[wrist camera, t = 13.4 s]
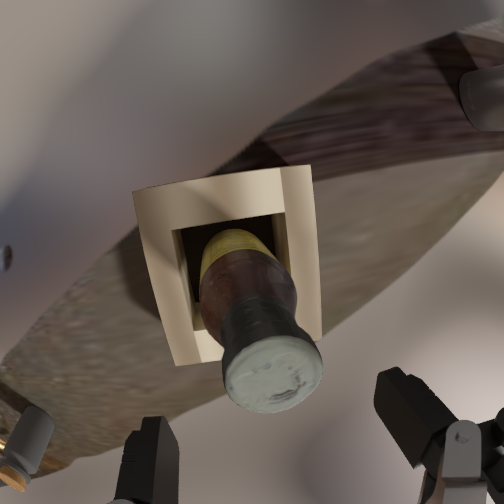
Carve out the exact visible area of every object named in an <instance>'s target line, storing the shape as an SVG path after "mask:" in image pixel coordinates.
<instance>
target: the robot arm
mask: <svg viewBox="0 0 504 504" xmlns="http://www.w3.org/2000/svg"><path fill="white" fill-rule="evenodd" d="M459 93H460V99H461V103H462V106H463V109H464V111H465V113H466V115H467V117H468V119H469V120H470V122H471V123H472V124H473V126H475V127H476V128H477V129H479V130H480V131H504V65H500V66H494V67H490V68H484V69H480V70H475V71H471V72H467V73H464V74H463V75H462V77H461V79H460V83H459ZM374 407H375V410H376V412H377V414H378V416H379V417H380V419H381V420H382V422H383V423H384V425H385V426H386V428H387V429H388V431H389V432H390V434H391V435H392V437H393V438H394V439H395V441H396V443H397V444H398V446H399V447H400V449H401V451H402V452H403V454H404V455H405V457H406V458H407V460H408V461H409V463H410V464H411V466H412V467H413V469H415V468H417V467H419V466H421V465H424V466H425V468H426V470H425V472H424V477H423V482H422V486H421V491H420V495H419V499H418V503H417V504H486V495H487V491H488V493H489V494H490V496H491V498H492V499H493V501H494V502H495V504H504V408H502V409H501V410H500V411H499V412H498V414H497V416H496V418H495V419H492V420H489V421H486V422H483V423H480V424H475V423H474V422H472V421H469V420H458V419H457V418H456V417H455V416H454V414H452V412H451V411H450V410H449V409H448V408H447V407H446V406H445V404H444V403H443V402H442V401H441V400H440V399H439V398H438V397H437V396H435V393H433V391H432V390H431V389H429V387H428V386H427V385H426V384H425V383H424V382H423V380H422V379H420V378H418V377H415V376H414V375H412V374H410V375H407V376H406V374H405V373H404V372H403V371H402V370H401V369H400V368H399V367H393V368H391V369H388V370H385V371H382V372H380V373H379V374H378V376H377V382H376V389H375V394H374ZM123 452H124V454H123V456H122V463H121V466H120V471H119V476H118V482H117V487H116V493H115V497H114V499H113V501H111V502H109V503H107V504H178V485H179V447H178V442H177V440H176V438H175V436H174V434H173V432H172V430H171V428H170V426H169V424H168V422H167V420H166V418H165V417H164V416H154V417H144V418H143V420H142V425H141V430H139V431H132V433H131V434H130V435H129V437H128V438H127V440H126V442H125V446H124V451H123Z"/></svg>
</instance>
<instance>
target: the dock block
mask: <svg viewBox="0 0 504 504" xmlns="http://www.w3.org/2000/svg"><path fill="white" fill-rule="evenodd" d="M132 193H133V199H134V205H135V210H136V215H137V221H138V226H139V231H140V236H141V240H142V245H143V249H144V254H145V258H146V263H147V267H148V271H149V275H150V279H151V283H152V287H153V291H154V295H155V298H156V302H157V306H158V309H159V313H160V316H161V320H162V323H163V327H164V330H165V333H166V337H167V340H168V343H169V346H170V349H171V352H172V355H173V359H174V362H175V365H176V366H181V365H188V364H196V363H203V362H210V361H217V360H222V356H223V353H224V348H223V347H222V346H221V345H220V344H219V343H218V342H216V341H215V340H214V339H213V337H212V336H211V335H209V333H208V331H207V330H206V328H205V326H204V324H203V321H202V317H201V312H200V302H196V303H195V298H194V294H193V289H192V285H191V280H190V275H189V270H188V266H187V261H186V256H185V251H184V245H183V240H182V235H181V228H186V227H192V226H198V225H204V224H210V223H216V222H222V221H229V220H235V219H241V218H248V217H254V216H261V215H268V214H271V219H272V227H273V236H274V244H275V253H276V259H277V260H278V261H279V262H280V263H281V264H282V265H283V267H284V268H285V269H286V270H287V271H288V273H289V274H290V276H291V277H292V279H293V281H294V284H295V287H296V291H297V307H296V313H295V320H296V322H297V324H298V326H299V327H301V328H302V329H304V330H305V331H306V332H307V333H308V334H309V335H310V336H311V338H312V340H313V341H317V340H321V339H322V326H321V296H320V275H319V258H318V243H317V230H316V218H315V206H314V196H313V186H312V177H311V168H310V165H297V166H284V167H275V168H267V169H258V170H251V171H243V172H236V173H229V174H222V175H216V176H209V177H203V178H197V179H192V180H186V181H180V182H174V183H169V184H164V185H159V186H154V187H149V188H145V189H141V190H137V191H134V192H132Z"/></svg>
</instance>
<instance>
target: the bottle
mask: <svg viewBox="0 0 504 504" xmlns="http://www.w3.org/2000/svg"><path fill="white" fill-rule="evenodd" d="M54 428H55V424H54V422H53V420H52V418H51V417H50V416H49V415H48V414H47V413H46V412H44V411H43V410H41V409H40V408H38V407H35V406H28V407H27V408H26V409H25V411H24V412H23V414H22V416H21V417H20V419H19V421H18V423H17V425H16V426H15V428H14V430H13V432H12V434H11V436H10V438H9V440H8V442H7V444H6V446H5V448H4V454H5V456H6V459H2V460H1V461H0V466H1V468H0V478H1V479H2V480H3V481H4V482H5V483H7V484H8V485H9V486H11V487H13V488H14V489H16V490H18V491H21V492H25V490H26V484H29V483H30V481H31V478H30V476H29V474H34V473H36V471H37V469H38V467H39V464H40V462H41V459H42V457H43V454H44V452H45V449H46V447H47V445H48V442H49V440H50V437H51V435H52V433H53V430H54Z"/></svg>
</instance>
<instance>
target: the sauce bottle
mask: <svg viewBox="0 0 504 504" xmlns="http://www.w3.org/2000/svg"><path fill="white" fill-rule="evenodd" d="M199 299H200V312H201V317H202V321H203V324H204V326H205V328H206V330H207V331H208V333H209V335H211V336H212V337H213V339H214V340H215V341H216V342H218V343H219V344H220V345H221V346H222V347H223V348H224V353H223V356H222V373H223V382H224V387H225V390H226V392H227V394H228V396H229V397H230V398H231V399H232V401H234V402H235V403H237V404H238V405H239V406H241V407H242V408H244V409H246V410H248V411H252V412H257V413H274V412H280V411H283V410H287V409H289V408H291V407H293V406H295V405H297V404H298V403H300V402H301V401H303V400H304V399H305V398H306V397H307V396H308V395H309V394H310V393H311V392H312V391H314V390H315V388H316V386H317V384H318V383H319V382H320V380H321V376H322V373H323V363H322V358H321V355H320V352H319V350H318V349H317V347H316V345H315V343H314V341H313V340H312V338H311V336H310V335H309V334H308V333H307V332H306V331H305V330H304V329H302V328H301V327H299V326H298V324H297V322H296V320H295V313H296V307H297V291H296V287H295V284H294V281H293V279H292V277H291V276H290V274H289V273H288V271H287V270H286V269H285V268H284V267H283V265H282V264H281V263H280V262H279V261H278V260H277V259H276V258H275V256H274V255H273V254H272V253H271V252H270V251H269V250H268V249H267V248H266V246H265V245H264V244H263V243H262V242H261V241H260V240H259V239H258V238H257V237H256V236H255V235H254V234H252V233H250V232H248V231H245V230H241V229H227V230H225V231H222V232H220V233H217V234H215V235H214V236H212V238H211V240H210V241H209V242H208V243H207V245H206V247H205V249H204V251H203V254H202V263H201V274H200V288H199Z"/></svg>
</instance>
